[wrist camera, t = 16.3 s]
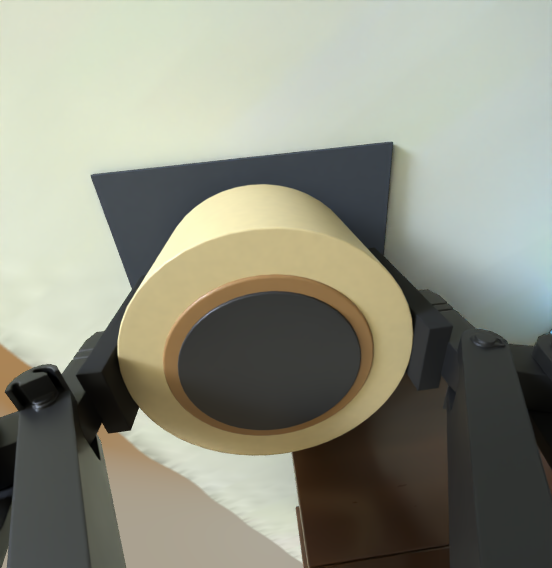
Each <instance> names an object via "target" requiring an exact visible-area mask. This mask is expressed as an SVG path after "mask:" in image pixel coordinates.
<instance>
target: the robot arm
mask: <svg viewBox="0 0 552 568" xmlns="http://www.w3.org/2000/svg"><path fill="white" fill-rule="evenodd" d="M367 249H368V250H369V251H370V252H371V253H372V254H373V255H374V256H375V258H376V259H377V260H378V261H379V262H380V263H381V264H382V265H383V266H384V267H385V268H386V269H387V270H388V272H389V273H390V274H391V275H392V276H393V278H394V279H395V281H396V282H397V283H398V285H399V286H400V288H401V289H402V291H403V294H404V296H405V298H406V300H407V302H408V305H409V309H410V313H411V316H412V324H413V344H412V351H411V356H410V360H409V363H408V366H407V368H406V371H405V372H406V373H407V375H408V376H409V378H410V380H411V381H412V383H413V384H414V386H415V387H416V389H417V391H421V390H428V389H435V388H439V384H440V380H441V376H442V377H443V378H444V379H445V381H446V382H447V383H448V384H449V385H448V389H447V393H446V397H445V401H444V404H443V409H446V408H447V450H448V500H449V549H450V568H552V495H551V492H550V488H549V485H548V481H547V477H546V474H545V470H544V467H543V463H542V460H541V456H540V452H539V449H540V451H541V452H542V454H543V456H544V458H545V459H546V461H547V463H548V465H549V466H550V468H551V470H552V334H544V335H542V336H540V337H538V340H537V342H536V344H535V346H527V345H515V344H508V342H507V341H506V340H505V339H504V338H503V337H501V336H500V335H498V334H496V333H494V332H491V331H488V330H484V329H475V328H474V327H473V326H472V325H471V324H470V323H469V322H468V321H467V320H466V319H464V318H463V317H462V316H461V315H460V314H459V313H458V312H457V311H456V310H453V308H452V307H451V306H450V305H449V304H447V302H446V301H445V300H444V299H443V298H442V297H440V296H439V295H437V294H435V293H433V292H431V291H429V290H421V291H418V290H417V289H416V288H415V287H414V286H413V285H412V284H411V283H410V282H409V281H408V280H407V279H406V278H405V277H404V276H403V275H402V274H401V273H400V272H399V271H398V270H397V269H396V268H395V267H394V266H393V265H392V264H391V263H390V262H389V261H388V260H387V259H386V258H385V257H384V256H383V255H382V254H381V253H380V252H379V251H378V250H377V249H376V248H375V247H374V248H367ZM145 277H146V275H141V277H140V278H139V280H138V281H137V283H136V284H135V286H134V287H133V289H132V290H131V292H130V293H129V295H128V296H127V298H126V300H125V301H124V303H123V304H122V306H121V307H120V309H119V310H118V312H117V313H116V315H115V316H114V318H113V319H112V321H111V322H110V324H109V325H108V327H107V328H106V330H105V331H102V332H96V333H95V334H94V335H92V336H91V337H90V338H89V339H87V340H86V341H85V342H84V344H83V345H82V347H81V348H80V349H79V352H77V354H76V355H75V356H74V358H73V360H72V361H71V362H70V363H69V365H68V366H67V367H66V369H65V370H64V372H63V373H62V374H61V373H60V371H59V369H58V368H57V366H55V365H52V364H47V365H41V366H37V367H34V368H32V369H30V370H28V371H26V372H23V373H22V374H20V375H19V376H18V377H16V378H15V379H14V380H13V381H12V382H11V383H10V384H9V385H8V386H7V388H6V390H5V393H6V394H7V396H8V397H9V398H10V400H11V401H12V402H13V404H14V405H15V407H16V408H17V409H18V411H17V412H15V413H12V414H9V415H6V416H3V417H0V568H1V567H2V564H3V561H4V558H5V555H6V552H7V549H8V560H7V568H126V565H125V559H124V554H123V549H122V544H121V540H120V535H119V530H118V524H117V520H116V514H115V509H114V505H113V499H112V494H111V489H110V484H109V480H108V474H107V470H106V464H105V459H104V455H103V450H102V444H101V441H100V439H99V437H98V435H97V432H98V430H99V428H100V426H101V424H102V423H103V425H104V427H105V429H106V430H107V432H108V433H116V432H123V431H130V430H131V428H132V426H133V423H134V420H135V417H136V415H137V412H138V409H139V406H138V405H137V404H136V402H135V401H134V400H133V398H132V396H131V395H130V393H129V391H128V389H127V387H126V385H125V382H124V380H123V377H122V375H121V372H120V367H119V361H118V335H119V330H120V325H121V321H122V319H123V316H124V314H125V311H126V308H127V306H128V304H129V303H130V301H131V299H132V298H133V296H134V294H135V293H136V291H137V289H138V288H139V286H140V285H141V283H142V281H143V280H144V278H145ZM538 447H539V449H538ZM8 546H9V547H8Z"/></svg>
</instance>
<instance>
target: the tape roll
mask: <svg viewBox="0 0 552 568" xmlns="http://www.w3.org/2000/svg"><path fill="white" fill-rule="evenodd" d="M412 344H413V324H412V316H411V313H410V309H409V305H408V302H407V300H406V298H405V296H404V294H403V291H402V289H401V288H400V286H399V285H398V283H397V282H396V281H395V279H394V278H393V276H392V275H391V274H390V273H389V272H388V270H387V269H386V268H385V267H384V266H383V265H382V264H381V263H380V262H379V261H378V260H377V259H376V258H375V256H374V255H373V254H372V253H371V252H370V251H369V250H368V249H367V248H366V247H365V246H364V245H363V243H362V242H361V241H360V240H359V239H358V238H357V237H356V236H355V235H354V234H353V233H352V232H351V230H350V229H349V228H348V227H347V226H346V225H345V224H344V223H343V222H342V221H341V220H340V219H339V218H338V217H337V215H336V214H335V213H334V212H333V211H332V210H331V209H330V208H328V207H327V206H326V205H324V204H323V203H322V202H320V201H319V200H317V199H315V198H313V197H312V196H310V195H308V194H306V193H303V192H301V191H298V190H295V189H292V188H288V187H283V186H278V185H267V184H260V185H247V186H241V187H236V188H232V189H229V190H226V191H223V192H220V193H218V194H216V195H214V196H212V197H210V198H208V199H206V200H205V201H203V202H202V203H201V204H199V205H198V206H196V207H195V208H194V209H193V210H192V211H191V212H189V213H188V214H187V215H186V216H185V217H184V218H183V220H182V221H181V222H180V223H179V225H178V226H177V227H176V229H175V230H174V232H173V234H172V235H171V237H170V238H169V240H168V242H167V243H166V245H165V246H164V248H163V249H162V251H161V253H160V254H159V256H158V257H157V259H156V261H155V262H154V264H153V265H152V267H151V269H150V270H149V272H148V273H147V275H146V277H145V278H144V280H143V281H142V283H141V285H140V286H139V288H138V289H137V291H136V293H135V294H134V296H133V298H132V299H131V301H130V303H129V304H128V306H127V308H126V311H125V314H124V316H123V319H122V321H121V325H120V330H119V335H118V361H119V367H120V372H121V375H122V377H123V380H124V382H125V385H126V387H127V389H128V391H129V393H130V395H131V396H132V398H133V400H134V401H135V402H136V404H137V405H138V406H139V407H140V409H141V410H142V411H143V412H144V413H145V414H146V415H147V416H148V417H149V418H150V419H151V420H152V421H153V422H155V423H156V424H157V425H159V426H160V427H161V428H163V429H164V430H166V431H167V432H169V433H171V434H172V435H174V436H176V437H178V438H180V439H182V440H184V441H186V442H189V443H191V444H194V445H197V446H200V447H203V448H206V449H209V450H214V451H218V452H223V453H230V454H237V455H273V454H283V453H289V452H294V451H299V450H303V449H307V448H310V447H314V446H317V445H319V444H322V443H325V442H328V441H330V440H332V439H334V438H337V437H339V436H341V435H343V434H344V433H346V432H348V431H350V430H352V429H353V428H355V427H356V426H358V425H359V424H361V423H362V422H364V421H365V420H366V419H368V418H369V417H370V416H371V415H372V414H374V413H375V412H376V411H377V410H378V409H379V408H380V407H381V406H382V405H383V404H384V403H385V402H386V401H387V400H388V398H389V397H390V396H391V394H392V393H393V392H394V390H395V389H396V388H397V386H398V384H399V382H400V381H401V379H402V377H403V375H404V373H405V371H406V368H407V366H408V363H409V360H410V356H411V351H412Z"/></svg>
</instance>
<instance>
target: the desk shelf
mask: <svg viewBox="0 0 552 568" xmlns="http://www.w3.org/2000/svg"><path fill="white" fill-rule="evenodd" d="M448 385H449V384H448V383H447V382H446V381H445V379H444V378H443V377H442V376H441V380H440V384H439V388H435V389H428V390H421V391H417V389H416V387H415V386H414V384H413V383H412V381H411V380H410V378H409V376H408V375H407V373H406V372H405V373H404V375H403V377H402V379H401V381H400V382H399V384H398V386H397V388H396V389H395V390H394V392H393V393H392V394H391V396H390V397H389V398H388V400H387V401H386V402H385V403H384V404H383V405H382V406H381V407H380V408H379V409H378V410H377V411H376V412H375V413H374V414H372V415H371V416H370V417H369V418H368V419H366V420H365V421H364V422H362V423H361V424H359V425H358V426H356V427H355V428H353V429H352V430H350V431H348V432H346V433H344V434H343V435H341V436H339V437H337V438H334V439H332V440H330V441H328V442H325V443H322V444H319V445H317V446H314V447H310V448H307V449H303V450H299V451H294V452H292V459H293V466H294V473H295V480H296V487H297V494H298V501H299V507H296V514H297V522H298V530H299V537H300V545H301V552H302V560H303V567H304V568H450V549H449V500H448V450H447V408H446V409H443V404H444V401H445V397H446V393H447V389H448ZM538 449H539V447H538ZM539 452H540V456H541V460H542V463H543V467H544V470H545V474H546V477H547V481H548V485H549V488H550V492H551V495H552V470H551V468H550V466H549V465H548V463H547V461H546V459H545V458H544V456H543V454H542V452H541V451H540V449H539Z"/></svg>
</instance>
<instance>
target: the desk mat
mask: <svg viewBox="0 0 552 568" xmlns="http://www.w3.org/2000/svg"><path fill="white" fill-rule="evenodd" d="M392 148H393V142H385V143H375V144H366V145H357V146H348V147H339V148H330V149H320V150H311V151H302V152H293V153H284V154H275V155H265V156H256V157H247V158H238V159H229V160H220V161H210V162H201V163H192V164H183V165H174V166H165V167H155V168H146V169H137V170H128V171H119V172H110V173H100V174H93V175H91V178H92V181H93V184H94V186H95V189H96V192H97V195H98V197H99V200H100V203H101V206H102V208H103V211H104V214H105V217H106V219H107V222H108V225H109V227H110V230H111V233H112V236H113V238H114V241H115V244H116V247H117V249H118V252H119V255H120V257H121V260H122V263H123V266H124V268H125V271H126V274H127V277H128V279H129V282H130V285H131V287H132V289H133V287H134V286H135V284H136V283H137V281H138V280H139V278H140V277H141V275H147V273H148V272H149V270H150V269H151V267H152V265H153V264H154V262H155V261H156V259H157V257H158V256H159V254H160V253H161V251H162V249H163V248H164V246H165V245H166V243H167V242H168V240H169V238H170V237H171V235H172V234H173V232H174V230H175V229H176V227H177V226H178V225H179V223H180V222H181V221H182V220H183V218H184V217H185V216H186V215H187V214H188V213H189V212H191V211H192V210H193V209H194V208H195V207H196V206H198V205H199V204H201V203H202V202H203V201H205V200H206V199H208V198H210V197H212V196H214V195H216V194H218V193H220V192H223V191H226V190H229V189H232V188H236V187H241V186H247V185H260V184H267V185H278V186H283V187H288V188H292V189H295V190H298V191H301V192H303V193H306V194H308V195H310V196H312V197H313V198H315V199H317V200H319V201H320V202H322V203H323V204H324V205H326V206H327V207H328V208H330V209H331V210H332V211H333V212H334V213H335V214H336V215H337V217H338V218H339V219H340V220H341V221H342V222H343V223H344V224H345V225H346V226H347V227H348V228H349V229H350V230H351V232H352V233H353V234H354V235H355V236H356V237H357V238H358V239H359V240H360V241H361V242H362V243H363V245H364V246H365V247H366V248H374V247H375V248H376V249H377V250H378V251H379V252H380V253H381V254H382V255H384V243H385V231H386V220H387V208H388V196H389V184H390V172H391V160H392Z"/></svg>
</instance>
